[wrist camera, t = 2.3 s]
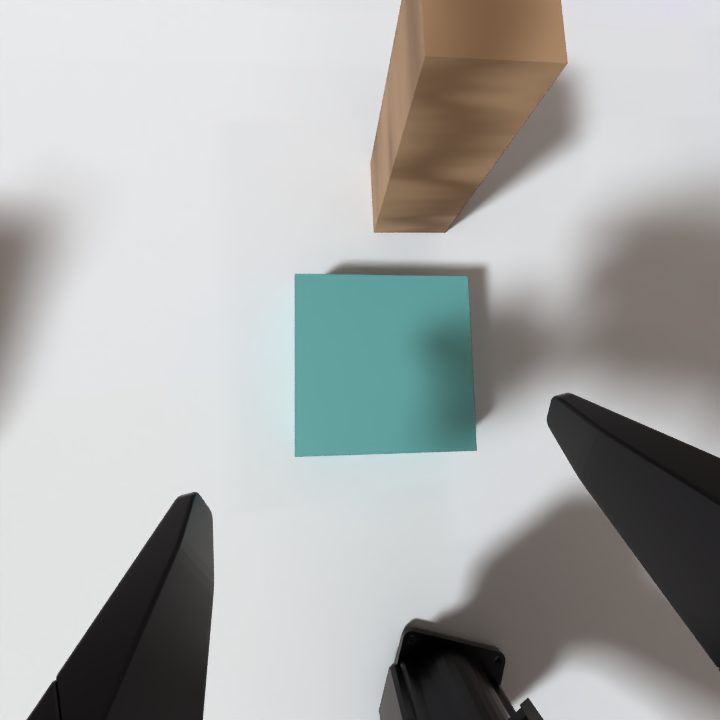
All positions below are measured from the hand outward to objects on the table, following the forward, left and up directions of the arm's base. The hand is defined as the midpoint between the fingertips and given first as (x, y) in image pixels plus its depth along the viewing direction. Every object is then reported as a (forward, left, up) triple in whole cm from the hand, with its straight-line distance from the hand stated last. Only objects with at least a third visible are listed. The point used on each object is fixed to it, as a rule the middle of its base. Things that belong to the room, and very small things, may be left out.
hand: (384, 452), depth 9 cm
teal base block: (-1, -4, -15) cm, 15 cm away
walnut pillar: (0, -16, -15) cm, 21 cm away
